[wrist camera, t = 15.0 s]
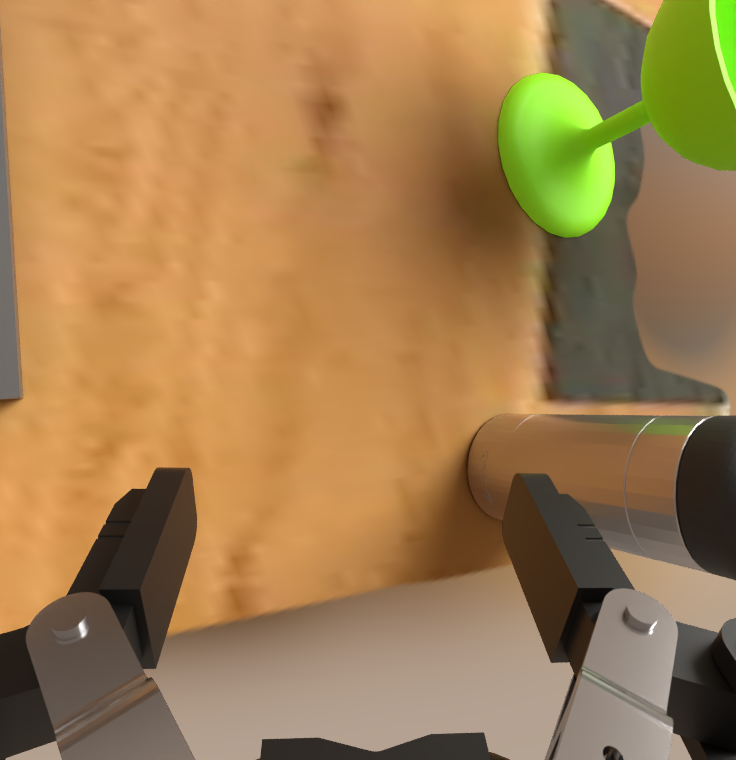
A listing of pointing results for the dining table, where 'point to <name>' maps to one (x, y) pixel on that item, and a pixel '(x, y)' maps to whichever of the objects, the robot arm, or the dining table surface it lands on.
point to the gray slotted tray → (7, 273)
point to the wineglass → (623, 118)
